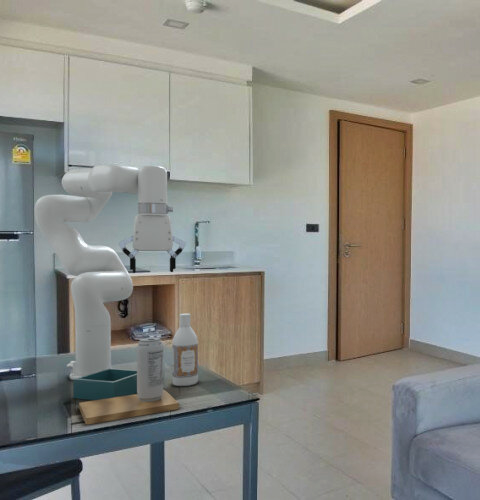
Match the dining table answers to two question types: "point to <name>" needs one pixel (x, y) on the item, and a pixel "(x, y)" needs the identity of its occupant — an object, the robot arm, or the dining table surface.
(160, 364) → the energy drink can
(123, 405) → the oak board
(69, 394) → the dining table surface
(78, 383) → the teal open tray
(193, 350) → the bath foam
